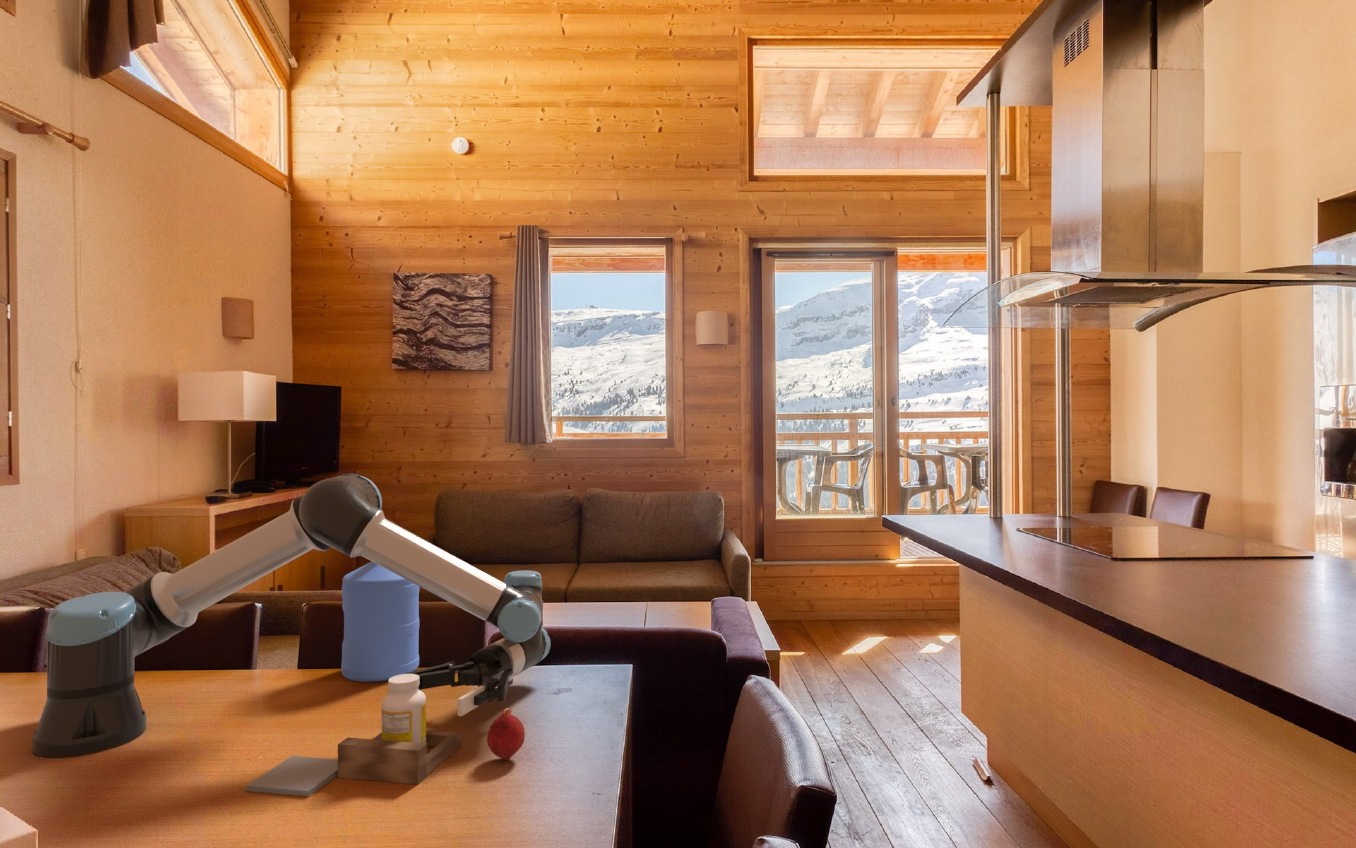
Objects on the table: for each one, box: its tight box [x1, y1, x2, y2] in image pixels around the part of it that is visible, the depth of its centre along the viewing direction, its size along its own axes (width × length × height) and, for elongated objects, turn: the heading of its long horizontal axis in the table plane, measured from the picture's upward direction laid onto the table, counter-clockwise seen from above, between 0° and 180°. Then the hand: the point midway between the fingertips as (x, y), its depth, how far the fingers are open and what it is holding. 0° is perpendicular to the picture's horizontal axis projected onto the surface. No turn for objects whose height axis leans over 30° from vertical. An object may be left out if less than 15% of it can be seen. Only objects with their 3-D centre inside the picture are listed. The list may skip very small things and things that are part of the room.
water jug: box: [340, 561, 420, 683], centre depth 162 cm, size 16×16×28 cm
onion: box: [486, 707, 526, 761], centre depth 118 cm, size 6×6×8 cm
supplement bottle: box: [381, 674, 427, 743], centre depth 119 cm, size 7×7×13 cm
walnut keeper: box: [337, 729, 462, 786], centre depth 118 cm, size 13×14×5 cm
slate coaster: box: [245, 755, 338, 798], centre depth 112 cm, size 10×10×1 cm
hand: (423, 702), depth 122 cm, fingers open, 13 cm apart
